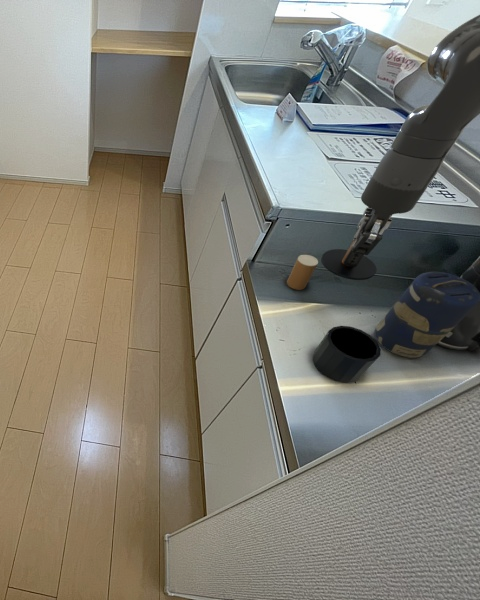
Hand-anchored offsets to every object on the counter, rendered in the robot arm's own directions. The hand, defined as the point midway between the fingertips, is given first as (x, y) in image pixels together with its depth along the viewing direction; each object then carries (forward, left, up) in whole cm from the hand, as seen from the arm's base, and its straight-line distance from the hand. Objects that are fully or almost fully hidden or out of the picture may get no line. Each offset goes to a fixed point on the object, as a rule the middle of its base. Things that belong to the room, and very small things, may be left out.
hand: (350, 260), depth 69 cm
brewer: (-6, +11, -18) cm, 22 cm away
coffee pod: (+6, -12, -18) cm, 22 cm away
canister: (-16, -2, -18) cm, 24 cm away
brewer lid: (0, 0, -1) cm, 1 cm away
